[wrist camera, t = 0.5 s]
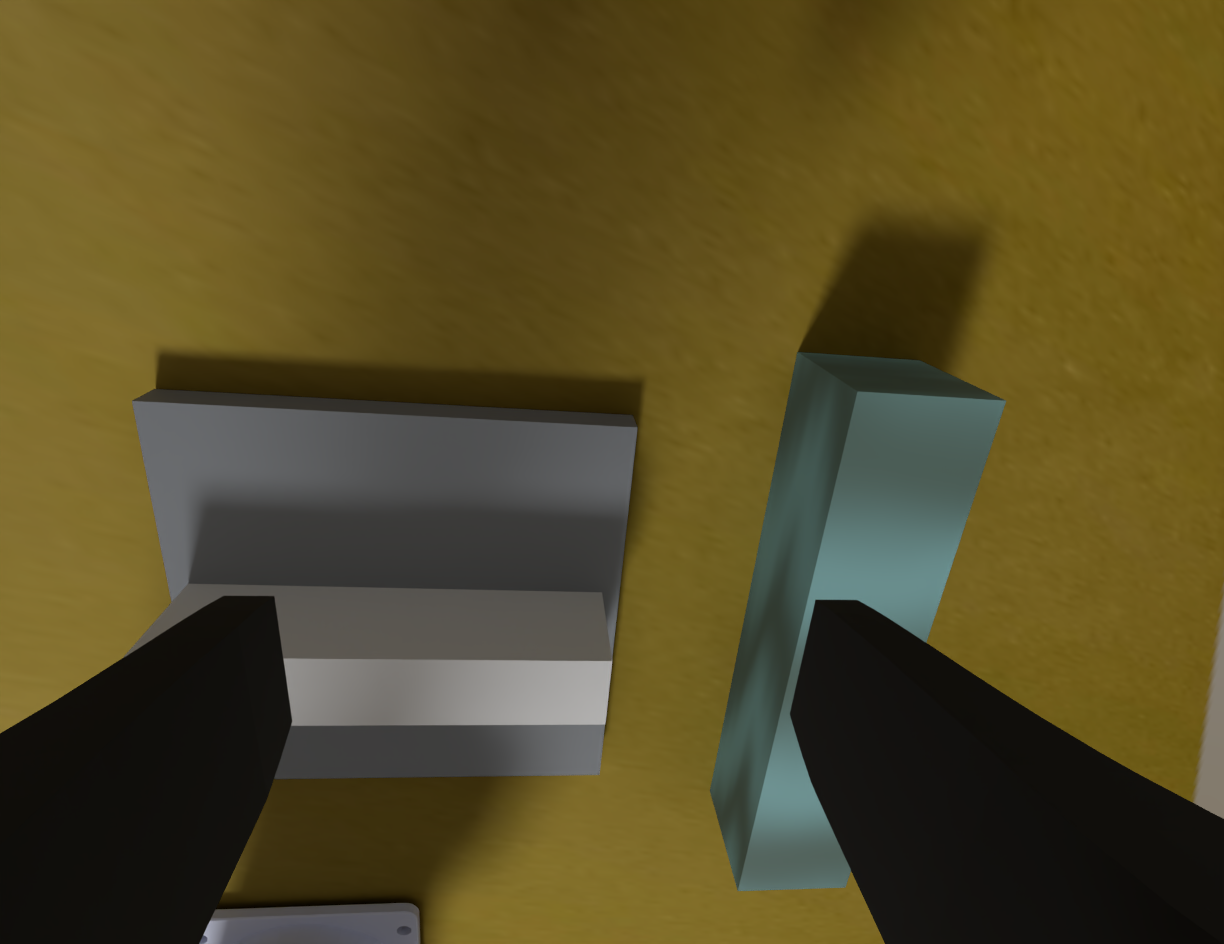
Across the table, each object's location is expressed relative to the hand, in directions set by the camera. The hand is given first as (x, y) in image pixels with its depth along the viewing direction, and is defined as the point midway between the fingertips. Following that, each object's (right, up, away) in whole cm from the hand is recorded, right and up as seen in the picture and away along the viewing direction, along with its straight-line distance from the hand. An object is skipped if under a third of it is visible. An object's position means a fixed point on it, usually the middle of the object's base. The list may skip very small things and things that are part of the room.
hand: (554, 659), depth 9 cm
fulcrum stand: (-5, -1, +11) cm, 12 cm away
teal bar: (+7, -2, +12) cm, 14 cm away
